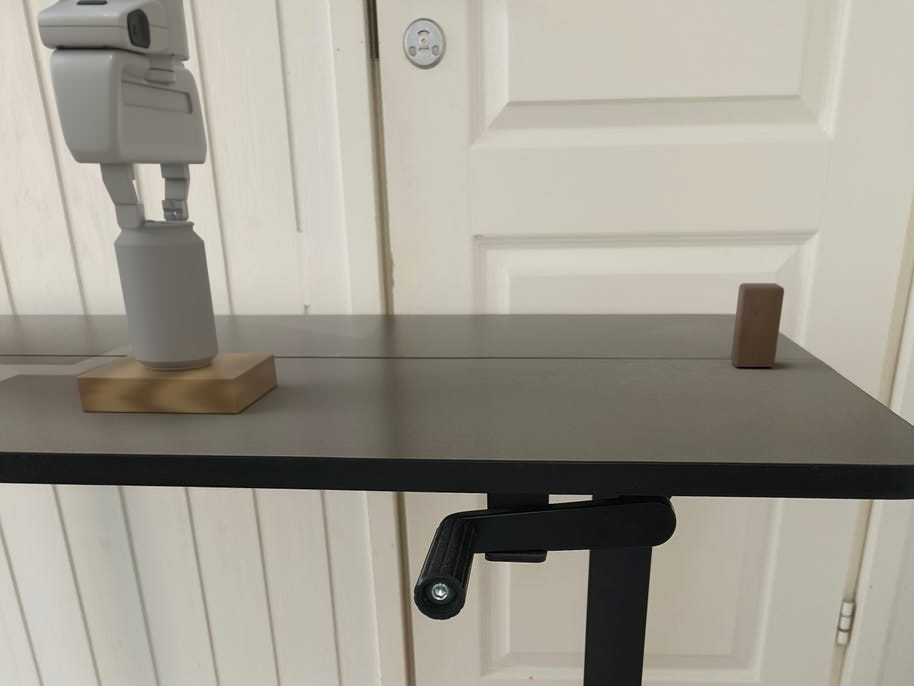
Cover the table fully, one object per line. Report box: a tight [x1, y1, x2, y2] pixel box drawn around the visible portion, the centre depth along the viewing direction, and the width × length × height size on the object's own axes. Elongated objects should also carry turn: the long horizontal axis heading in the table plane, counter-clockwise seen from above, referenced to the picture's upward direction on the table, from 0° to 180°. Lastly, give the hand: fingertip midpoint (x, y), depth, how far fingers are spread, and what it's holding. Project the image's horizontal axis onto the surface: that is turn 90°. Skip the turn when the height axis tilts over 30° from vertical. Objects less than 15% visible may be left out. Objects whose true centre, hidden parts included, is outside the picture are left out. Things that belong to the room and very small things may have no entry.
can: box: [113, 219, 220, 370], centre depth 81 cm, size 8×8×12 cm
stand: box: [76, 352, 278, 415], centre depth 84 cm, size 14×12×3 cm
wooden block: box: [730, 282, 785, 368], centre depth 95 cm, size 4×4×8 cm
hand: (156, 224), depth 78 cm, fingers open, 8 cm apart
